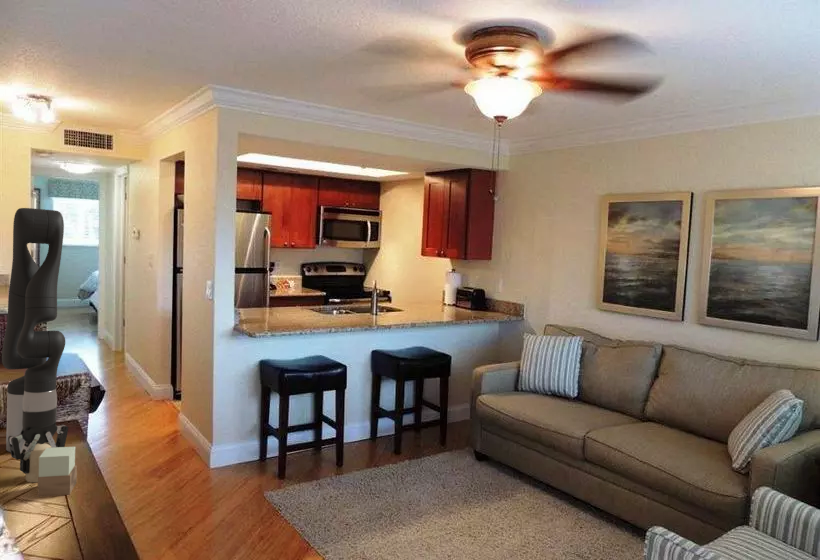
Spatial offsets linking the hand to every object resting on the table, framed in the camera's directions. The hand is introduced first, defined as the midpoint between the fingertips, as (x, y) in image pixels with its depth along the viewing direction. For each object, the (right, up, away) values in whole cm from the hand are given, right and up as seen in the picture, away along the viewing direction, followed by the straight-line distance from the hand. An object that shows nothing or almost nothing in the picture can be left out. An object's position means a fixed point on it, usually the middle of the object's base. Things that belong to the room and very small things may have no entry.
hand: (38, 469), depth 151 cm
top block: (+9, +1, -6) cm, 10 cm away
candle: (0, -3, 0) cm, 3 cm away
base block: (+8, -4, -5) cm, 11 cm away
